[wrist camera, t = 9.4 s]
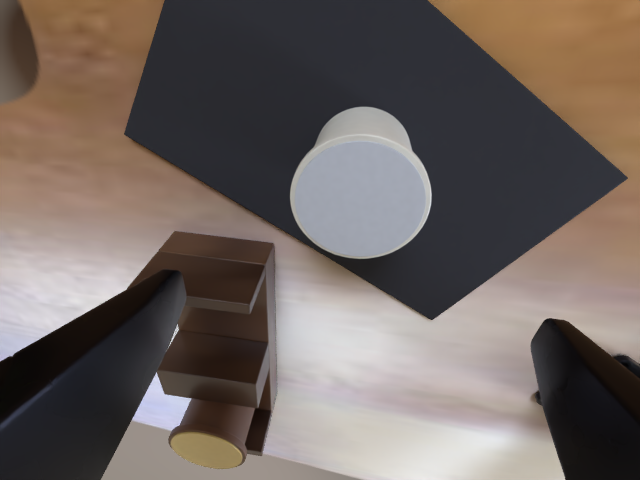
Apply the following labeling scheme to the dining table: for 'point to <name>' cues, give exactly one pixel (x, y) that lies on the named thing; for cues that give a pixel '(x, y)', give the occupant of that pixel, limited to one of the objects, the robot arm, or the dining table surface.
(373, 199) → the coffee pod
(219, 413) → the cylinder
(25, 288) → the dining table surface
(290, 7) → the mat
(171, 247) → the pod rack
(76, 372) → the robot arm
